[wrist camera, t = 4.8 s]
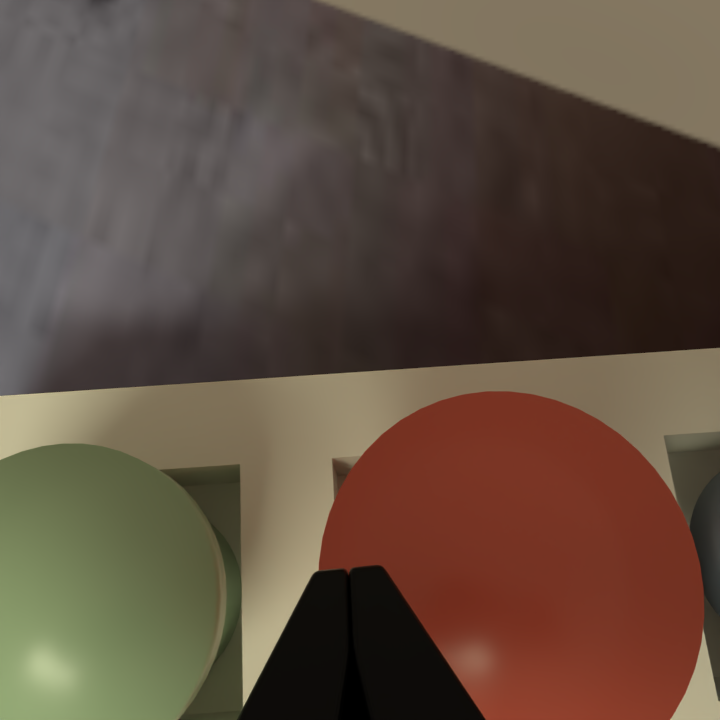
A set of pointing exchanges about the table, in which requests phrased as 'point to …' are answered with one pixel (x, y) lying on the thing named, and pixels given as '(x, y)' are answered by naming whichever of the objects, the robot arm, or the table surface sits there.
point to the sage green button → (107, 588)
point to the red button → (530, 556)
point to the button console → (344, 448)
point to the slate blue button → (708, 539)
